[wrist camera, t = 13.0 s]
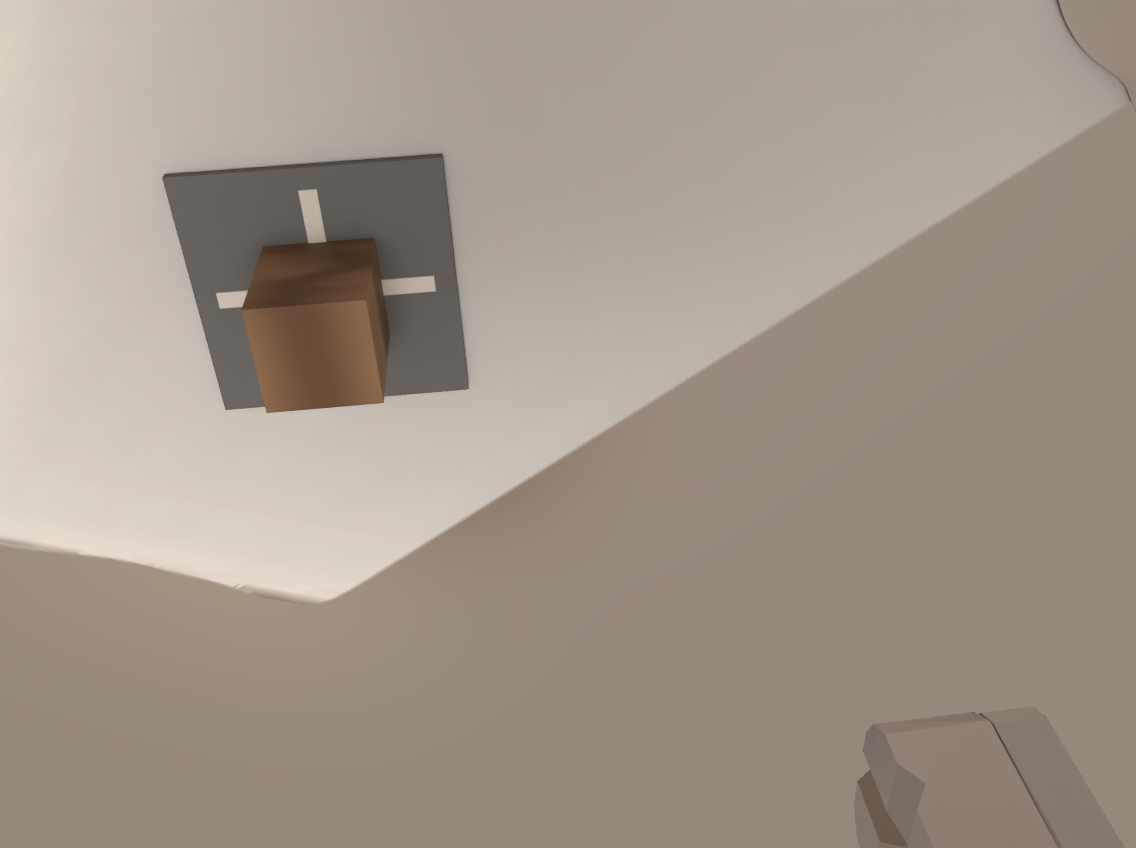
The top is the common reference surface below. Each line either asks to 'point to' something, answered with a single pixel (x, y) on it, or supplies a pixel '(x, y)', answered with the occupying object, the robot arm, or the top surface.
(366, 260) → the walnut block
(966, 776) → the robot arm
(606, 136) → the top surface
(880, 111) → the top surface
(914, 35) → the top surface
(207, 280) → the pad
